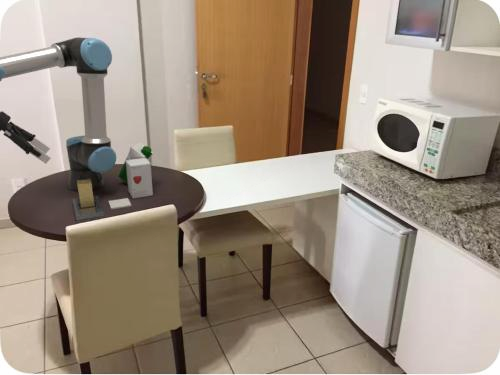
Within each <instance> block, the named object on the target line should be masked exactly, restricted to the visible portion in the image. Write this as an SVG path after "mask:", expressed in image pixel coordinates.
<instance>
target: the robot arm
mask: <svg viewBox="0 0 500 375" xmlns="http://www.w3.org/2000/svg"><path fill="white" fill-rule="evenodd" d="M112 60H113V54H112V51H111V49H110V47H109V45H108V44H106V43H105V41H103V40H101V39H98V38H94V37H73V38H70V39H67V40H62V41H59V42H55V43H54V42H53V43H52V44H51V45H50V46H49V47H44V48H39V49H34V50H30V51H29V50H28V51H25V52H19V53H14V54H9V55H4V56H1V57H0V82H2V80H3V79H7V78H12V77H16V76H21V75H25V74H28V73H29V74H30V73H34V72H38V71H43V70H47V69H51V68H55V67H59V68H60V69H63V68H67V67H75V69H76V74H77V75H78V76H79V77H80V79H81V92H82V93H81V94H82V95H81V96H82V108H83V109H82V110H83V124H84V135H78V136H73V137H69V138H67V139H66V142H65V144H66V145H65V147H66V152H67V157H68V163H69V169H70V170H69V176H68V182H67V183H68V184H67V185H68V189H69V190H71V191H75V192H78V185H77V181H78V180H86V179H90V180H91V183H92V191H93V190H96V189H98V188H101V187H103V186H104V178H103V176H102V174H104V173H106V172H109V171H110V170H112V168H113V167H114V166H115V164H116V162H117V155H116V154H117V153H116V152H115V150H114V149H113V148H112V141H111V139H110V137H108V135H107V133H108V132H107V118H106V116H107V115H106V99H105V94H106V93H105V78H106V77H107V75H108V68H109V67H110V65H111V64H112ZM11 118H12V117H11V115H8V113H6V112H5V111H1V110H0V132H1V131H3V136H5V137H7V139H9V140H11V142H12V143H13V144H15V145H16V146H17V147H19V148H20V149H21V150H23V152H25V154H26V155H29V154H30V155H32V156H34V157H35V158H36V159H38V160H39V161H41V162H43V163H44V164H48V162H49V161H50V160H51V159H52V157H51V156H49V155H47V153H48V152H49V151H50V150H51V148H50V146H48V145H47V144H45V143H43V142H42V141H40V140H39V139H38V138H36V136H37V135H36V134H34V133H31V132H29V131H27V130H25V129H24V128H22V127H21V126H19V125H16V124H15V123H13V122H12V121H11Z"/></svg>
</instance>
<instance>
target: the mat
mask: <svg viewBox="0 0 500 375" xmlns="http://www.w3.org/2000/svg"><path fill="white" fill-rule="evenodd" d="M108 204H109V206H110V210H116V209H117V210H118V209H122V208H123V209H124V208H129V207H130V208H131V207H132V204H131V202H130V199H129V198H128V197H126V198H120V199H113V200H108Z"/></svg>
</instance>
